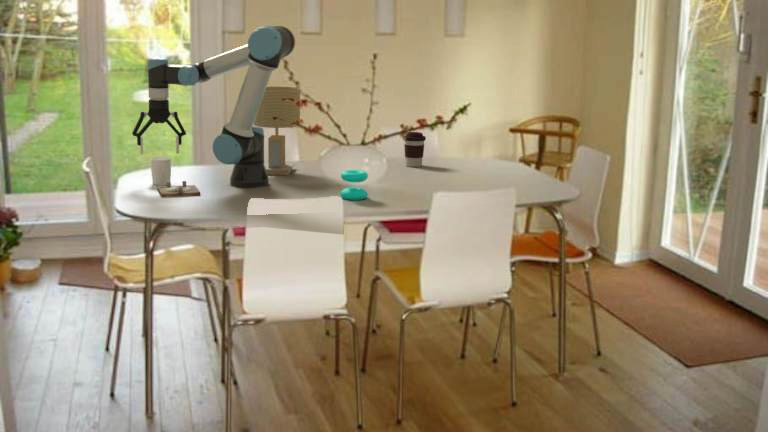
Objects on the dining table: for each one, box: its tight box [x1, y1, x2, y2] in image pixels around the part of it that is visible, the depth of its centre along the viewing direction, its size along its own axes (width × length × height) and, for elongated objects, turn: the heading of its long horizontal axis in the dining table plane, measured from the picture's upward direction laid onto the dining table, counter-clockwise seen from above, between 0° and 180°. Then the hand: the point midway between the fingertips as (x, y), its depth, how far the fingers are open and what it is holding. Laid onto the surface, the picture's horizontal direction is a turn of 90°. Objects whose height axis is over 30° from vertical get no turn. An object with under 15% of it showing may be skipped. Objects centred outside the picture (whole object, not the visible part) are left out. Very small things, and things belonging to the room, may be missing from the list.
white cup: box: [150, 156, 172, 186], centre depth 353 cm, size 8×8×10 cm
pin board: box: [156, 180, 201, 198], centre depth 338 cm, size 14×14×3 cm
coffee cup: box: [403, 131, 426, 168], centre depth 405 cm, size 10×10×15 cm
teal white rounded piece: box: [340, 169, 369, 201], centre depth 336 cm, size 10×10×10 cm
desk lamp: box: [253, 86, 301, 176], centre depth 381 cm, size 20×20×35 cm
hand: (159, 153), depth 352 cm, fingers open, 13 cm apart
